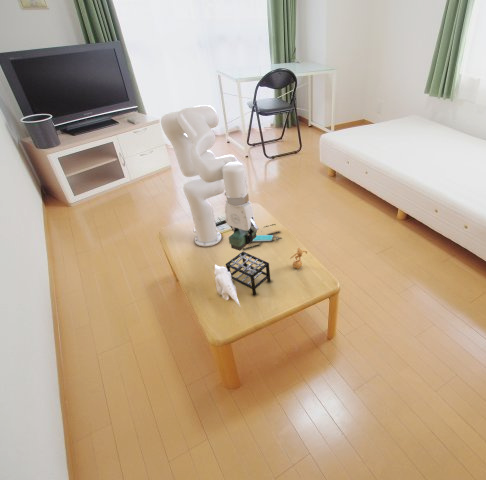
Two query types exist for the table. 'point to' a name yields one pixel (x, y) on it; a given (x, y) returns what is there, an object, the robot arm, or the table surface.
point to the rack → (249, 267)
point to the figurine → (298, 263)
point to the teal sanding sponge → (239, 239)
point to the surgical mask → (264, 237)
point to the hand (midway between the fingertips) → (243, 240)
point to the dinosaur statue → (225, 283)
